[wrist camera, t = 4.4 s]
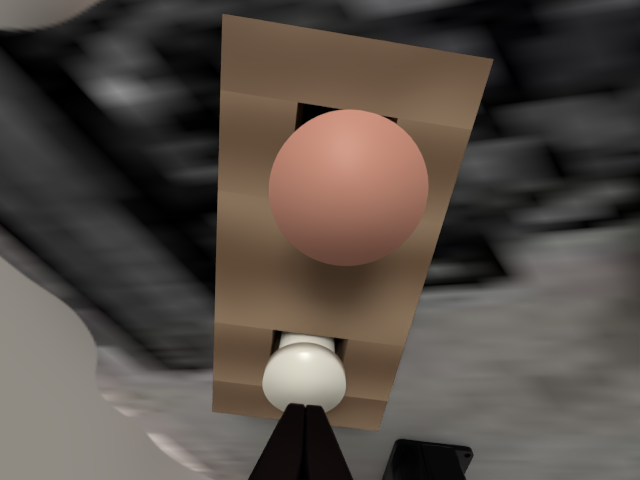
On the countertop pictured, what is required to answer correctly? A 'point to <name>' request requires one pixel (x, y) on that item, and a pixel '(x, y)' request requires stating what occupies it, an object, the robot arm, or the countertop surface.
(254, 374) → the socket board
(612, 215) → the countertop surface
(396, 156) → the brick plug
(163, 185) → the countertop surface
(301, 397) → the cream plug
